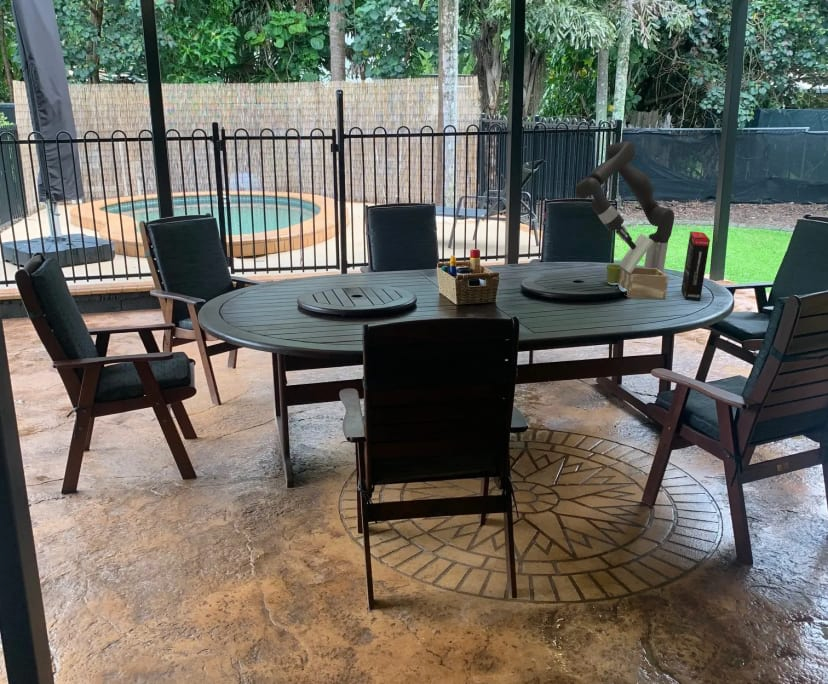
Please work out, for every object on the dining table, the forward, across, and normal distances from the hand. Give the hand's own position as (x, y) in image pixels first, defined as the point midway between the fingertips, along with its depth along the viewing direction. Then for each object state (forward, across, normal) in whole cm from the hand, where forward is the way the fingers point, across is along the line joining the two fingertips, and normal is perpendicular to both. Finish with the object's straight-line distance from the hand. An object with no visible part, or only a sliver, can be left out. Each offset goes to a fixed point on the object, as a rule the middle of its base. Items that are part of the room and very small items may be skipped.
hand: (634, 247), depth 334 cm
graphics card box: (+33, -2, -6) cm, 33 cm away
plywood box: (+17, -3, +10) cm, 20 cm away
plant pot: (+12, +12, +16) cm, 23 cm away
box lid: (+2, -3, +1) cm, 4 cm away
